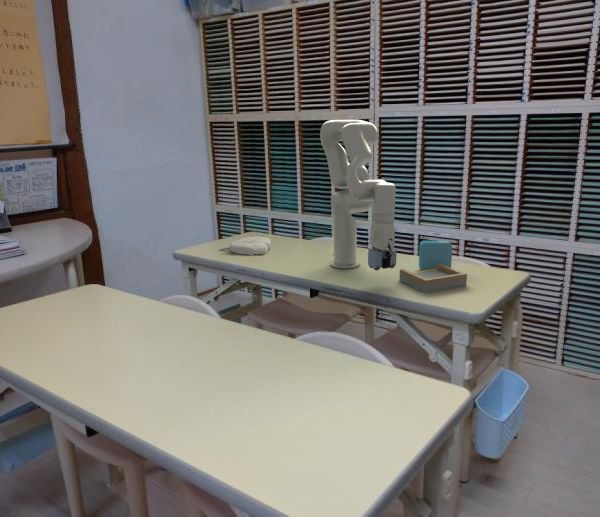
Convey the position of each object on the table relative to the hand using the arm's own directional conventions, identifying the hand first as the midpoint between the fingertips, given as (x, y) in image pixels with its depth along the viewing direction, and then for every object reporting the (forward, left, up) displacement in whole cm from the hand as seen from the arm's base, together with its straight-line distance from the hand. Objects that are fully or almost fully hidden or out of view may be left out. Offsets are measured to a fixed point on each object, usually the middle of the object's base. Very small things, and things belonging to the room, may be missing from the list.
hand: (381, 265), depth 184 cm
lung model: (-74, -32, -8) cm, 81 cm away
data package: (-5, +28, -7) cm, 29 cm away
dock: (+8, +17, -7) cm, 20 cm away
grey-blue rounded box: (0, 0, -1) cm, 1 cm away
